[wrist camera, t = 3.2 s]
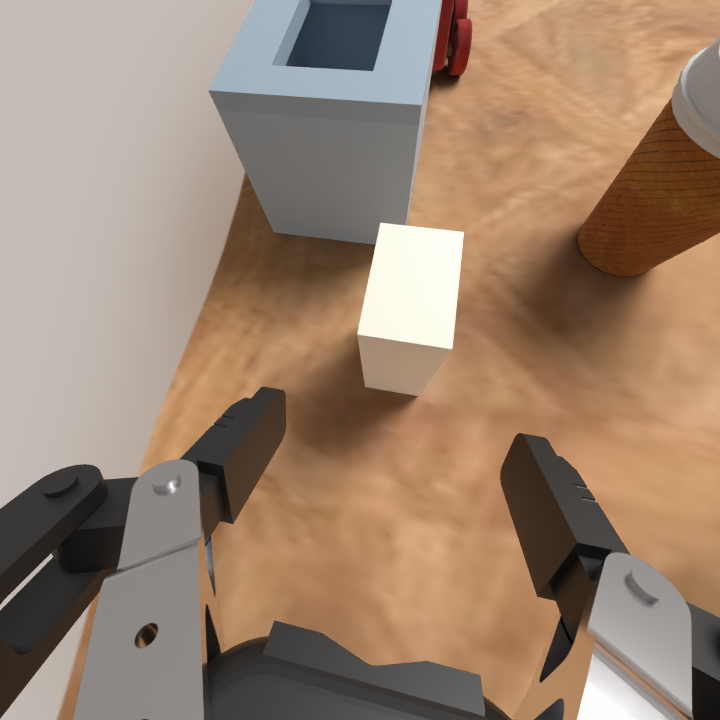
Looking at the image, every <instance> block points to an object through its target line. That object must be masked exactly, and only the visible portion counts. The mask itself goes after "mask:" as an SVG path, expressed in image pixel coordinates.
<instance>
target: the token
mask: <svg viewBox="0 0 720 720" xmlns="http://www.w3.org/2000/svg"><path fill="white" fill-rule="evenodd" d="M463 236H464V232H458V231H449V230H440V229H432V228H423V227H414V226H405V225H396V224H387V223H380V227H379V232H378V237H377V242H376V246H375V251H374V256H373V261H372V266H371V270H370V275H369V280H368V285H367V290H366V294H365V299H364V304H363V309H362V314H361V318H360V323H359V328H358V333H357V337H358V343H359V350H360V357H361V363H362V370H363V376H364V383H365V387H368V388H374V389H380V390H386V391H391V392H397V393H403V394H408V395H414V396H419V394H420V393H421V392H422V390H423V389H424V388H425V386H426V385H427V383H428V382H429V381H430V379H431V378H432V377H433V375H434V374H435V372H436V371H437V370H438V368H439V367H440V365H441V364H442V363H443V361H444V360H445V359H446V357H447V356H448V354H449V353H450V352H451V350H452V347H453V337H454V327H455V317H456V306H457V296H458V286H459V276H460V266H461V256H462V246H463Z"/></svg>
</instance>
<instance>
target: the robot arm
mask: <svg viewBox="0 0 720 720" xmlns="http://www.w3.org/2000/svg"><path fill="white" fill-rule="evenodd" d="M285 429H286V402H285V392H284V390H280V389H274V388H268V387H261V388H260V389H259V390H258V391H257V393H256V394H255V395H254V396H253V397H252V398H251V399H249V398H244V399H242V400H240V401H238V402H237V403H235V404H233V405H231V406H230V407H229V408H228V409H227V410H226V412H225V413H224V414H223V415H222V417H220V418H219V419H218V420H217V421H216V422H215V423H214V425H213V426H211V427H210V428H209V429H208V430H207V431H206V432H205V433H204V434H203V435H202V436H201V438H200V439H199V440H198V441H197V442H196V443H195V444H194V445H193V446H192V447H191V448H190V449H189V450H188V451H187V452H186V453H185V454H184V455H183V456H182V457H181V458H180V459H178V460H170V461H166V462H163V463H160V464H158V465H156V466H154V467H152V468H150V469H149V470H147V471H146V472H145V473H143V474H142V475H141V476H140V477H135V478H122V479H107V480H104V479H103V476H102V474H101V472H100V470H99V469H98V468H97V467H95V466H93V465H86V464H84V465H74V466H70V467H66V468H63V469H60V470H58V471H55V472H53V473H51V474H49V475H47V476H45V477H43V478H42V479H40V480H39V481H37V482H36V483H34V484H33V485H31V486H30V487H29V488H28V489H26V490H25V491H23V492H22V493H21V494H19V495H18V496H17V497H15V498H14V499H13V500H12V501H10V502H9V503H7V504H6V505H5V506H4V507H2V508H1V509H0V604H1V603H2V602H3V600H4V599H5V598H6V597H7V596H8V595H9V594H10V593H11V592H12V591H13V590H14V589H15V588H16V587H17V586H18V585H19V584H20V583H21V582H22V581H23V580H24V579H25V578H26V577H27V576H28V575H29V574H30V573H31V572H32V571H33V570H34V569H35V568H36V567H37V566H38V565H39V564H40V563H42V561H43V560H44V559H46V558H47V557H48V556H49V555H50V553H52V555H53V558H52V559H51V560H50V561H49V562H48V563H47V564H46V565H45V566H44V567H43V568H42V569H41V570H40V571H39V572H38V573H37V574H36V575H35V576H34V577H33V578H32V579H31V580H30V581H29V582H28V583H27V584H26V585H25V586H24V587H23V588H22V589H21V590H20V591H19V592H18V593H17V594H16V595H15V596H14V597H13V598H12V599H11V600H10V601H9V602H8V603H7V605H5V606H4V607H3V608H2V609H1V611H0V718H1V717H2V716H3V714H4V713H5V712H6V711H7V709H8V708H9V707H10V705H11V704H12V703H13V702H14V700H15V699H16V698H17V696H18V695H19V694H20V693H21V691H22V690H23V689H24V687H25V686H26V685H27V684H28V682H29V681H30V680H31V678H32V677H33V676H34V675H35V673H36V672H37V671H38V670H39V668H40V667H41V666H42V664H43V663H44V662H45V660H46V659H47V658H48V657H49V655H50V654H51V653H52V652H53V650H54V649H55V648H56V646H57V645H58V644H59V643H60V641H61V640H62V639H63V637H64V636H65V635H66V634H67V632H68V631H69V630H70V628H71V627H72V626H73V625H74V623H75V622H76V621H77V619H78V618H79V617H80V616H81V614H82V613H83V612H84V610H85V609H86V608H87V607H88V605H89V604H90V603H91V602H92V600H93V599H94V598H95V596H96V595H97V594H98V593H99V591H100V594H99V599H98V603H97V608H96V613H95V617H94V622H93V627H92V632H91V636H90V641H89V646H88V651H87V655H86V660H85V665H84V669H83V674H82V679H81V684H80V688H79V693H78V698H77V702H76V707H75V712H74V717H73V720H511V719H510V718H509V717H508V716H507V715H506V714H505V713H504V712H503V711H502V710H501V709H500V708H498V707H497V706H496V705H495V704H494V703H492V702H491V701H490V700H489V699H487V698H485V697H484V696H483V692H482V685H481V678H480V675H477V674H473V673H470V672H466V671H462V670H458V669H455V668H451V667H447V666H443V665H440V664H436V663H432V662H428V661H422V662H412V663H401V664H391V665H381V666H373V665H369V664H368V663H366V662H364V661H363V660H361V659H360V658H358V657H357V656H355V655H354V654H352V653H351V652H349V651H348V650H346V649H345V648H343V647H342V646H340V645H339V644H337V643H336V642H334V641H333V640H331V639H330V638H328V637H327V636H325V635H324V634H323V633H319V632H316V631H312V630H308V629H304V628H301V627H297V626H293V625H289V624H286V623H282V622H278V621H274V623H273V626H272V629H271V632H270V635H269V636H267V637H260V638H256V639H252V640H248V641H246V642H243V643H241V644H238V645H236V646H234V647H232V648H230V649H229V650H227V651H224V641H223V632H222V624H221V618H220V611H219V603H218V591H217V579H216V567H215V555H214V542H213V534H212V533H213V531H214V530H215V528H216V527H217V525H218V523H219V522H220V521H222V522H227V523H231V524H233V523H234V522H235V520H236V518H237V516H238V515H239V513H240V511H241V510H242V508H243V506H244V504H245V503H246V501H247V499H248V498H249V496H250V494H251V493H252V491H253V489H254V487H255V486H256V484H257V482H258V481H259V479H260V477H261V475H262V474H263V472H264V470H265V469H266V467H267V465H268V464H269V462H270V460H271V458H272V457H273V455H274V453H275V452H276V450H277V448H278V447H279V445H280V443H281V441H282V439H283V437H284V434H285ZM500 480H501V486H502V489H503V492H504V495H505V498H506V501H507V504H508V507H509V511H510V514H511V517H512V520H513V523H514V526H515V529H516V532H517V535H518V538H519V541H520V545H521V548H522V551H523V554H524V557H525V560H526V563H527V566H528V569H529V572H530V576H531V579H532V582H533V585H534V588H535V591H536V594H537V597H541V598H546V599H550V600H554V601H556V603H557V605H558V608H559V611H560V612H559V613H558V614H557V616H556V618H555V620H554V623H553V625H552V628H551V631H550V634H549V637H548V639H547V642H546V645H545V648H544V651H543V653H542V656H541V659H540V662H539V665H538V667H537V670H536V673H535V676H534V679H533V681H532V684H531V686H530V689H529V691H528V693H527V695H526V696H525V698H524V700H523V701H522V703H521V705H520V706H519V708H518V710H517V712H516V714H515V716H514V719H513V720H720V618H719V617H717V616H715V615H713V614H711V613H708V612H706V611H704V610H702V609H700V608H698V607H696V606H694V605H692V604H690V603H688V602H686V601H685V600H684V599H683V597H682V596H681V594H680V593H679V592H678V590H677V589H676V588H675V587H674V586H673V585H672V583H671V582H670V581H669V580H668V579H667V578H665V577H664V576H663V575H662V574H661V573H660V572H658V571H657V570H656V569H655V568H653V567H652V566H650V565H649V564H647V563H646V562H644V561H642V560H640V559H638V558H636V557H634V556H631V555H630V553H629V551H628V550H627V548H626V547H625V545H624V544H623V542H622V540H621V539H620V537H619V536H618V534H617V533H616V531H615V529H614V528H613V526H612V525H611V523H610V522H609V520H608V519H607V517H606V515H605V514H604V512H603V511H602V509H601V508H600V506H599V504H598V503H596V502H595V498H594V497H593V495H592V493H591V492H590V490H589V489H587V486H586V484H585V482H584V481H583V479H582V478H581V476H580V475H579V473H578V471H577V470H576V469H575V468H573V467H572V466H571V465H570V464H569V463H568V462H567V461H566V460H565V459H564V458H563V457H560V456H557V455H556V453H555V452H554V450H553V448H552V446H551V445H550V443H549V441H548V440H547V439H546V438H544V437H539V436H533V435H528V434H522V433H519V434H517V435H516V436H515V438H514V440H513V443H512V445H511V447H510V449H509V452H508V454H507V456H506V458H505V461H504V463H503V465H502V468H501V474H500ZM116 569H117V570H116Z"/></svg>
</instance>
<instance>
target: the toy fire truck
mask: <svg viewBox="0 0 720 720" xmlns="http://www.w3.org/2000/svg"><path fill="white" fill-rule="evenodd" d="M467 9H468V0H442V5H441V12H440V19H439V26H438V32H437V39H436V46H435V53H434V60H433V67H432V71H436V70H441V69H442V68H443V67H444V64H445V58H446V56H448V72H449V75H451V76H455V75H462V74H463V72H464V71H465V69H466V66H467V62H468V58H469V54H470V48H471V40H472V22H471V20H470V19H466V18H467Z"/></svg>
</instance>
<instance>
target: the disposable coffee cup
mask: <svg viewBox="0 0 720 720" xmlns="http://www.w3.org/2000/svg"><path fill="white" fill-rule="evenodd" d="M718 233H720V36H719V37H718V38H717V39H716V40H715V41H714V42H713V43H712V44H711V45H710V46H709V47H707V48H705V49H703V50H701V51H700V52H698V53H697V54H696V55H695V56H693V57H692V58H691V59H690V60H689V61H688V63H687V64H686V66H685V67H684V69H683V70H682V72H681V74H680V77H679V79H678V83H677V85H676V87H675V88H674V90H673V95H672V98H671V99H670V101H669V102H668V103H667V104H666V106H665V107H664V109H663V110H662V112H661V114H660V115H659V116H658V117H657V119H656V120H655V122H654V123H653V125H652V126H651V128H650V129H649V130H648V132H647V133H646V135H645V137H644V138H643V139H642V140H641V142H640V143H639V145H638V146H637V148H636V149H635V150H634V152H633V153H632V155H631V157H630V158H629V159H628V160H627V162H626V164H625V165H624V167H623V168H622V169H621V171H620V172H619V174H618V175H617V176H616V178H615V179H614V181H613V183H612V184H611V185H610V186H609V188H608V190H607V191H606V192H605V194H604V195H603V197H602V198H601V199H600V201H599V203H598V204H597V205H596V207H595V208H594V210H593V211H592V212H591V214H590V215H589V217H588V218H587V220H586V221H585V223H584V224H583V225H582V226H581V228H580V230H579V232H578V246H579V248H580V250H581V252H582V254H583V256H584V257H585V258H586V259H587V260H588V261H589V262H590V263H591V264H592V265H594V266H595V267H597V268H598V269H600V270H602V271H604V272H606V273H609V274H613V275H618V276H634V275H639V274H641V273H644V272H646V271H648V270H649V269H651V268H653V267H655V266H657V265H659V264H661V263H663V262H664V261H666V260H668V259H670V258H672V257H674V256H676V255H678V254H680V253H682V252H684V251H686V250H688V249H690V248H691V247H693V246H695V245H697V244H699V243H701V242H704V241H705V240H707V239H709V238H710V237H712V236H714V235H716V234H718Z"/></svg>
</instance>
